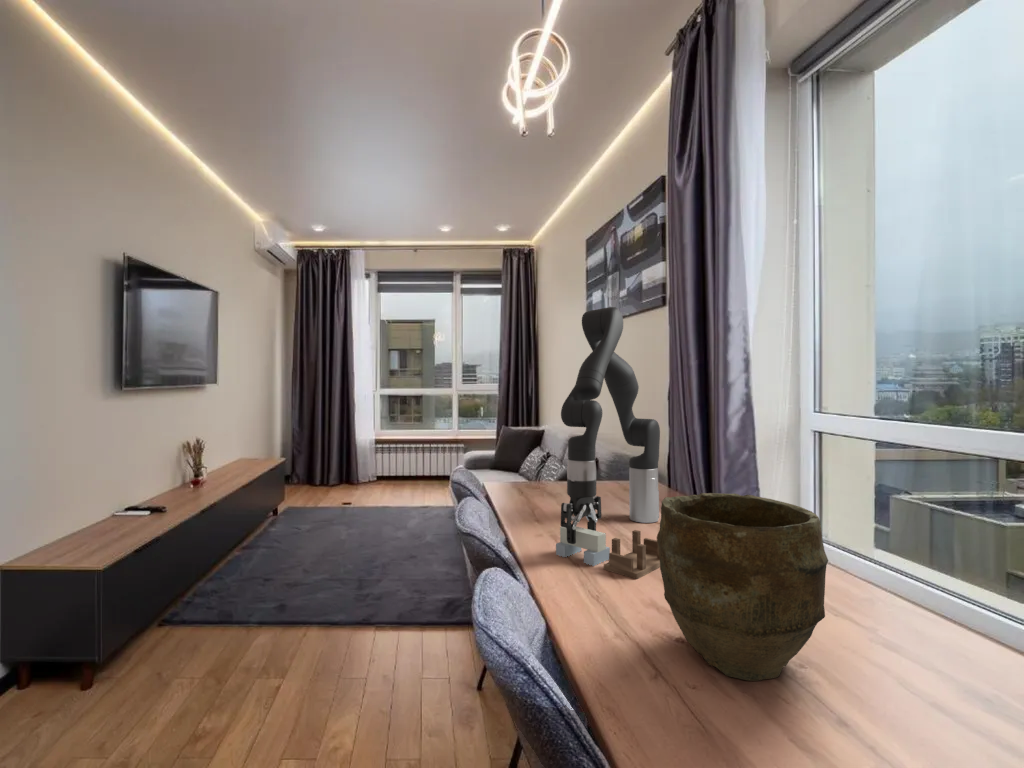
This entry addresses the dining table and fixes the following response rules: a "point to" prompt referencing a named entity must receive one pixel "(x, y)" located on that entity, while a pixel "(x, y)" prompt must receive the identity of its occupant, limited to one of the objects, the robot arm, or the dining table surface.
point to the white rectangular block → (586, 539)
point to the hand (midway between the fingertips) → (581, 539)
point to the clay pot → (742, 578)
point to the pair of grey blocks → (589, 555)
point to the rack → (634, 557)
